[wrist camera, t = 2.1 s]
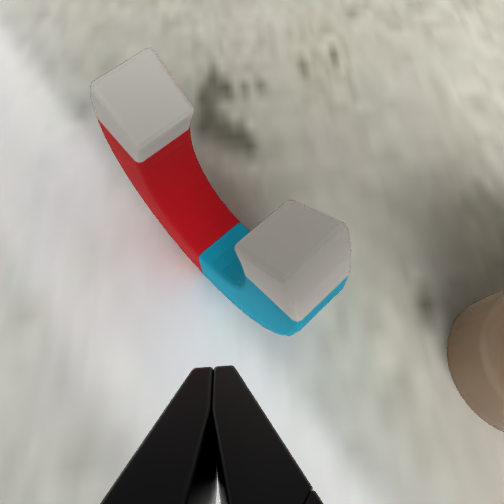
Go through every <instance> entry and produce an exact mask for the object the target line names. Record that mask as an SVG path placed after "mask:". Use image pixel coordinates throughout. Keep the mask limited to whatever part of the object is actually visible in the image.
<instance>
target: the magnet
mask: <svg viewBox="0 0 504 504" xmlns="http://www.w3.org/2000/svg"><path fill="white" fill-rule="evenodd" d="M90 94H91V100H92V103H93V106H94V110H95V113H96V116H97V119H98V121H99V124H100V126H101V128H102V131H103V133H104V135H105V137H106V139H107V141H108V143H109V145H110V147H111V149H112V151H113V153H114V155H115V156H116V158H117V160H118V161H119V163H120V165H121V166H122V168H123V170H124V171H125V173H126V175H127V176H128V178H129V179H130V181H131V182H132V184H133V185H134V187H135V188H136V190H137V191H138V193H139V194H140V196H141V197H142V198H143V200H144V201H145V203H146V204H147V205H148V207H149V208H150V210H151V211H152V212H153V214H154V215H155V216H156V218H157V219H158V220H159V222H160V223H161V224H162V225H163V227H164V228H165V229H166V231H167V232H168V233H169V234H170V236H171V237H172V238H173V239H174V240H175V242H176V243H177V244H178V245H179V246H180V248H181V249H182V250H183V251H184V252H185V254H186V255H187V256H188V257H189V258H190V259H191V260H192V262H193V263H194V264H195V265H196V266H197V267H198V268H199V269H200V271H201V272H202V273H203V274H204V275H205V276H206V277H207V278H208V279H209V280H210V281H211V282H212V283H213V284H214V285H215V286H216V287H217V288H218V289H219V290H220V291H221V292H222V293H223V294H224V295H225V296H226V297H227V298H228V299H229V300H230V301H232V302H233V303H234V304H235V305H236V306H237V307H238V308H239V309H241V310H242V311H243V312H244V313H245V314H247V315H248V316H249V317H250V318H252V319H253V320H255V321H256V322H258V323H259V324H260V325H262V326H263V327H265V328H267V329H269V330H271V331H273V332H275V333H277V334H280V335H286V336H290V335H293V334H295V333H296V332H298V331H299V330H301V329H302V328H303V327H304V326H305V325H306V324H307V323H308V322H309V321H310V320H311V319H312V318H313V317H314V316H315V315H316V314H317V313H318V312H319V311H320V310H321V309H322V308H323V307H324V306H325V305H326V304H327V303H328V302H329V301H330V300H331V299H332V298H333V297H334V296H335V295H337V294H338V293H339V292H340V291H341V290H342V289H343V287H344V284H345V282H346V280H347V277H348V275H349V272H350V264H351V245H350V239H349V233H348V228H347V226H346V225H345V224H344V223H343V222H341V221H339V220H336V219H334V218H332V217H330V216H327V215H325V214H323V213H321V212H318V211H316V210H314V209H312V208H309V207H307V206H305V205H303V204H300V203H298V202H296V201H294V200H289V201H286V202H285V203H284V204H283V205H282V206H280V207H279V208H278V209H277V210H276V211H274V212H273V213H272V214H271V215H270V216H268V217H267V218H266V219H265V220H264V221H263V222H261V223H260V224H259V225H258V226H257V227H255V228H254V229H253V230H252V231H251V232H250V231H249V230H248V229H247V228H246V227H245V226H244V225H243V224H241V223H240V221H239V220H238V219H237V218H236V217H235V216H234V215H233V214H232V213H231V212H230V211H229V209H228V208H227V207H226V206H225V204H224V203H223V202H222V201H221V199H220V198H219V196H218V195H217V194H216V192H215V191H214V189H213V188H212V186H211V185H210V183H209V181H208V180H207V178H206V176H205V175H204V173H203V171H202V169H201V167H200V165H199V162H198V160H197V158H196V155H195V152H194V150H193V146H192V141H191V137H190V123H191V118H192V116H193V114H194V113H195V111H194V108H193V106H192V105H191V103H190V102H189V100H188V99H187V97H186V96H185V94H184V93H183V91H182V90H181V88H180V87H179V85H178V84H177V83H176V81H175V80H174V78H173V77H172V75H171V74H170V72H169V71H168V69H167V68H166V66H165V65H164V63H163V62H162V60H161V59H160V57H159V56H158V54H157V53H156V52H155V50H154V49H153V48H151V47H150V48H146V49H144V50H143V51H141V52H140V53H138V54H136V55H135V56H133V57H132V58H130V59H128V60H127V61H125V62H123V63H122V64H120V65H119V66H117V67H115V68H114V69H112V70H111V71H109V72H107V73H106V74H104V75H102V76H101V77H99V78H98V79H96V80H94V81H93V82H92V83H91V85H90Z"/></svg>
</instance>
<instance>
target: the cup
mask: <svg viewBox="0 0 504 504" xmlns="http://www.w3.org/2000/svg"><path fill="white" fill-rule="evenodd" d="M447 356H448V363H449V368H450V372H451V376H452V378H453V381H454V383H455V385H456V387H457V389H458V391H459V393H460V395H461V396H462V397H463V399H464V400H465V402H466V403H467V404H468V405H469V407H470V408H471V409H472V410H473V411H474V412H475V413H476V414H477V415H478V416H479V417H480V418H482V419H483V420H484V421H486V422H487V423H488V424H490V425H491V426H493V427H495V428H497V429H498V430H501V431H503V432H504V290H502V291H499V292H497V293H495V294H493V295H490V296H488V297H486V298H484V299H481V300H479V301H477V302H475V303H473V304H471V305H470V306H468V307H467V308H466V309H465V310H463V311H462V312H461V314H460V315H459V316H458V317H457V319H456V320H455V322H454V324H453V326H452V328H451V331H450V334H449V338H448V346H447Z"/></svg>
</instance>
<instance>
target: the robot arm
mask: <svg viewBox="0 0 504 504" xmlns="http://www.w3.org/2000/svg"><path fill="white" fill-rule="evenodd" d="M217 473H218V483H219V493H220V501H221V504H323V502H322V501H321V499H320V498H319V496H318V495H317V493H316V492H315V491H314V490H313V489H312V486H311V484H310V483H309V481H308V480H307V478H306V477H305V475H304V473H303V472H302V470H301V469H300V467H299V466H298V464H297V463H296V461H295V460H294V458H293V457H292V455H291V453H290V452H289V450H288V449H287V447H286V446H285V444H284V443H283V441H282V440H281V438H280V436H279V435H278V433H277V432H276V430H275V429H274V427H273V426H272V424H271V423H270V421H269V419H268V418H267V416H266V415H265V413H264V412H263V410H262V409H261V407H260V406H259V404H258V402H257V401H256V399H255V398H254V396H253V395H252V393H251V392H250V390H249V389H248V387H247V385H246V384H245V382H244V381H243V379H242V378H241V376H240V375H239V373H238V372H237V370H236V369H235V367H234V366H217V367H215V368H214V370H213V368H212V367H202V368H194V369H193V370H192V371H191V372H190V374H189V375H188V377H187V378H186V380H185V381H184V382H183V384H182V385H181V387H180V388H179V390H178V391H177V393H176V394H175V396H174V397H173V398H172V400H171V401H170V403H169V404H168V406H167V407H166V409H165V410H164V412H163V413H162V415H161V416H160V417H159V419H158V420H157V422H156V423H155V425H154V426H153V428H152V429H151V431H150V432H149V433H148V435H147V436H146V438H145V439H144V441H143V442H142V444H141V445H140V447H139V448H138V449H137V451H136V452H135V454H134V455H133V457H132V458H131V460H130V461H129V463H128V464H127V466H126V467H125V468H124V470H123V471H122V473H121V474H120V476H119V477H118V479H117V480H116V482H115V483H114V484H113V486H112V487H111V489H110V490H109V492H108V493H107V495H106V496H105V498H104V499H103V500H102V502H101V503H100V504H215V502H216V491H217ZM312 490H313V491H312Z"/></svg>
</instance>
